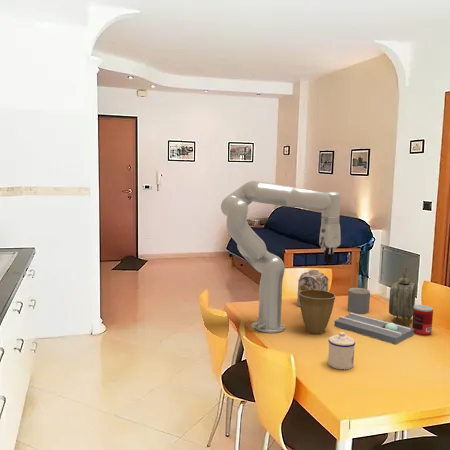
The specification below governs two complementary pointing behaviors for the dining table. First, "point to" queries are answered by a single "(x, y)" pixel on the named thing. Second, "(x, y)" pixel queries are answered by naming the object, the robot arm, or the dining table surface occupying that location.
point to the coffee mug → (358, 300)
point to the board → (373, 328)
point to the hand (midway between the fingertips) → (328, 262)
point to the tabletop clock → (402, 298)
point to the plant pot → (316, 309)
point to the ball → (391, 327)
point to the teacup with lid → (341, 351)
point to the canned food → (422, 319)
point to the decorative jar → (312, 282)
